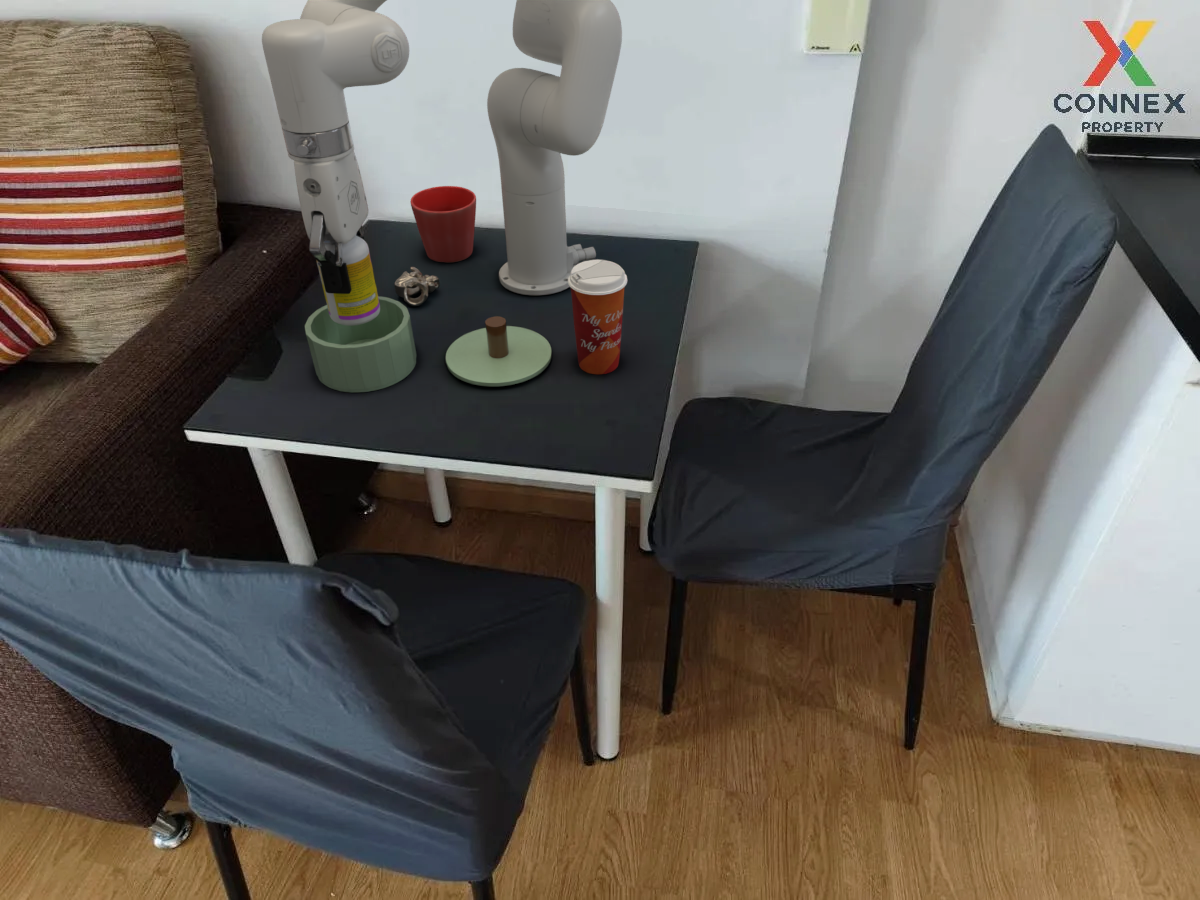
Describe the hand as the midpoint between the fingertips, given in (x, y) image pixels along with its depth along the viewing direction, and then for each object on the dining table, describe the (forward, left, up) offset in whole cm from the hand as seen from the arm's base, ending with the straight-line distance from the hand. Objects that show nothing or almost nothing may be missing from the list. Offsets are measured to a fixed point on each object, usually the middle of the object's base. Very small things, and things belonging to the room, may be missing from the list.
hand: (348, 277), depth 111 cm
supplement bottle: (0, 0, -6) cm, 6 cm away
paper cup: (-29, +14, -13) cm, 35 cm away
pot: (0, 0, -13) cm, 13 cm away
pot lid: (-17, +7, -13) cm, 22 cm away
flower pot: (-21, -28, -14) cm, 38 cm away
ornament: (-12, -16, -14) cm, 24 cm away
